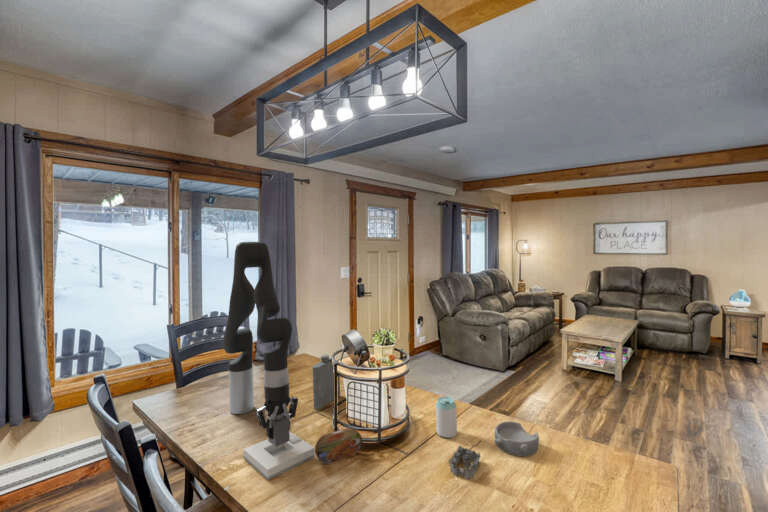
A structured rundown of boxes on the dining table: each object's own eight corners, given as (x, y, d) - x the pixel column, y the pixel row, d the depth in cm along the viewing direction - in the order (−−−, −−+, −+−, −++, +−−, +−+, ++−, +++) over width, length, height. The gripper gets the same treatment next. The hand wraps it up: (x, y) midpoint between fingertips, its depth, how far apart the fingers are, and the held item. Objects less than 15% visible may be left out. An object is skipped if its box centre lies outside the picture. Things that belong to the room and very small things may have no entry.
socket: (243, 458, 119) (243, 447, 119) (288, 438, 130) (288, 428, 130) (267, 480, 108) (267, 467, 108) (314, 456, 119) (314, 445, 119)
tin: (317, 467, 113) (316, 440, 113) (314, 462, 116) (313, 435, 116) (362, 453, 120) (362, 427, 120) (358, 449, 123) (358, 423, 123)
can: (460, 433, 131) (460, 399, 131) (449, 441, 126) (449, 406, 126) (443, 426, 136) (443, 394, 136) (432, 434, 131) (431, 400, 131)
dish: (506, 431, 133) (506, 417, 132) (546, 445, 123) (546, 430, 122) (485, 447, 122) (485, 432, 122) (526, 464, 113) (526, 448, 112)
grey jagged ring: (472, 482, 105) (471, 468, 105) (446, 474, 109) (446, 460, 109) (483, 462, 114) (482, 449, 114) (459, 455, 118) (459, 443, 118)
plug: (268, 441, 119) (267, 414, 118) (281, 435, 122) (281, 409, 122) (275, 446, 115) (274, 419, 115) (289, 440, 119) (288, 413, 118)
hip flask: (318, 410, 152) (316, 361, 151) (310, 408, 154) (308, 360, 153) (341, 396, 166) (340, 351, 165) (334, 394, 168) (333, 350, 167)
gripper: (290, 373, 126) (292, 423, 126) (249, 385, 116) (251, 439, 116) (302, 378, 121) (304, 430, 121) (260, 391, 110) (262, 448, 111)
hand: (278, 435), depth 119 cm, fingers closed on plug, 4 cm apart
